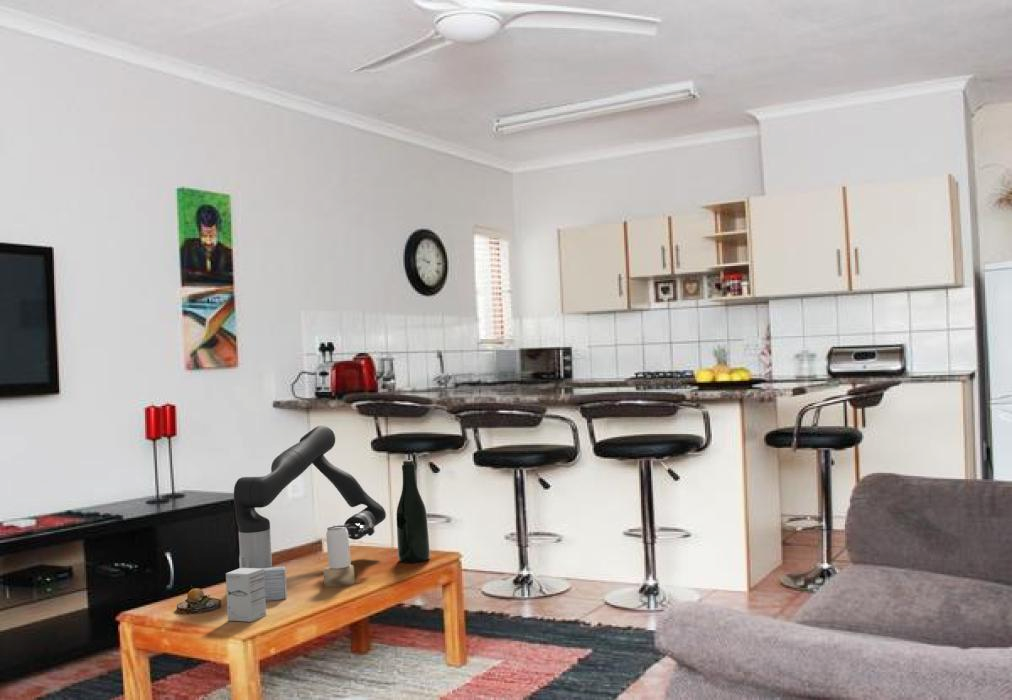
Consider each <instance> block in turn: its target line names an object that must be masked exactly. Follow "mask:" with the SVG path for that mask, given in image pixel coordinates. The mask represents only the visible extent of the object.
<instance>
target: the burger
mask: <svg viewBox="0 0 1012 700" xmlns="http://www.w3.org/2000/svg"><path fill="white" fill-rule="evenodd" d="M186 598H187V599H184V601H182V602H179V603H177V605H176V612H177V613H178V614H182V613H183V615H196V614H205V613H209V612H213V611H216V610H218V609H220V608H221V607H222V605H221V604H222V600H221V599H219V598H214V597H210V595H206V594H205V593H204V590H203V589H201V588H193V586H192V584H191V589H190V590H189V591H188V593H187V596H186Z"/></svg>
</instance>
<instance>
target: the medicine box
mask: <svg viewBox="0 0 1012 700" xmlns="http://www.w3.org/2000/svg"><path fill="white" fill-rule="evenodd" d="M261 569H264V578H265V601H266V602H269V601H278V600H279V601H280V600H287V596H288V594H287V593H288V592H287V591H288V590H287V576H286V575H287V573H286V566H283V565H282V566H274V567H273V566H272V567H271V568H261Z"/></svg>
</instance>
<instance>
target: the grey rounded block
mask: <svg viewBox="0 0 1012 700" xmlns="http://www.w3.org/2000/svg"><path fill="white" fill-rule="evenodd" d="M323 584H324V587H326V586H327V587H326V588H344V587H349V586H352V585H353V584H355V567H354V565H353V564H350V566H349V567H347V568H344V569H330V568H329V565H328V566H325V567H324V568H323Z"/></svg>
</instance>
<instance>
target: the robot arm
mask: <svg viewBox="0 0 1012 700" xmlns="http://www.w3.org/2000/svg"><path fill="white" fill-rule="evenodd" d="M335 444H336V435H335V433H334V431H333V430H332V429H331V428H330V427H328V426H327V425H326V426H325V425H317V426H315V427H314V428H312V429H311V430H310V431H308V432H307V433H306V434H305V435H303V436H301V438H300V439H299V442H297V443H295V444H293V445H292V446H290V447H288V448H287V449H286V450H284V451H282V452H281V453H280V454H279V455H277V456H276V457H275V458H274V459H273V461H272V463H271V470H270V471H271V472H270V473H268V474H267V475H263V476H243V477H239V478H238V479H237V481H235V484H234V487H233V488H234V489H233V502H234V503H233V504H234V511H235V512H234V513H235V521H236V524H237V526H238V543H239V546H238V547H239V555H238V558H239V559H238V562H239V568H260V569H261V568H271V567H273V560H272V559H273V557H272V555H273V554H272V541H271V538H272V537H271V523H270V522H271V521H270V520H269V518H267V517H265V516H262V515H260V514H259V513H258V512H257V511H256V508H259V509H260V508H265V507H267V506H269V505H271V504H272V503H273V501H274V500H275V499H276V498H277V497H278V495H280V494H281V492H283V490H284V489H285V488H286V487H287V486H289V484H291V483H292V482H293V481H295V480H296V479H298V477H300V476H301V475H302V474H303V473H304V472H305V471H306V470H307V469H308V468H309V467H310V466H311V465H313V466H314V467H315V468H316V469H317V470H318V471H319V472H320V473H321V474H323V476H324V477H326V479H327V480H328V481H329V482H331V484H332V485H333V486H334V488H335V489H336V490H337V492H339V494H340V495H341V496H342V498H343V499H344V501H345V502H346V504H347V505H348V506H349V507H350V508H355V507H358V506H360V505H365V506H366V507H364V509H362V510H361V511H359V512H358V513H355V514H353V515H352V516H350V517H349V518H348V519H346V521H345V522H344V523H343V525H344V526H346V529H347V531H348V538H349V539H351V540H359V539H362V538H364V537H366V536H367V535H368V536H373V535H374V533H375V529H376V528H375V527H376V526H378V525H379V524H381V523H382V522H383V521H384V520H386V518H387V517H386V516H387V512H386V510H385V508H384V507H383V505H381V504H380V503H378V502H377V501H376V500H374V499H373V498H372V497H371V496H370V495H369V494H368V493H367V492H366V491H365V490H364V489H363V487H362V486H361V484H360V483H359V482H358V480H357V479H356V477H354V476H353V475H352V474H350V473H349V472H347V471H345V470H343V469H341V468H339V467H337V466H335V465H334V464H332V463H331V462H330V461H329V460H328V459H327V458H326V456H325V454H326V453H327V452H329V451H330V450H332V449H333V448H334V446H335ZM327 530H328V529H326V531H327Z"/></svg>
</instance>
